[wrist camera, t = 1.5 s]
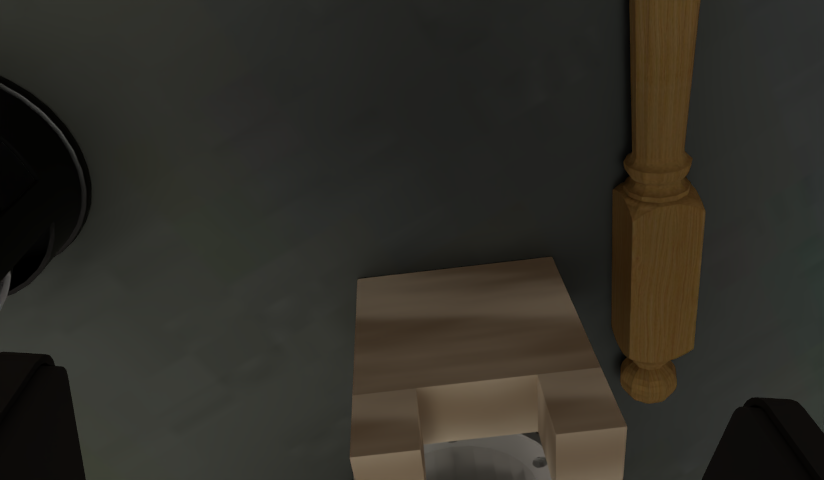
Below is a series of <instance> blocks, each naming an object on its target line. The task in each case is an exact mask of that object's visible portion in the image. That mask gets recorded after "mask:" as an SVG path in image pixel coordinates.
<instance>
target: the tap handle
mask: <svg viewBox="0 0 824 480" xmlns="http://www.w3.org/2000/svg"><path fill="white" fill-rule="evenodd" d="M699 8H700V0H629V11H630V63H631V116H632V153H629V154H627V156H626V158H625V160H624V168H625V170H626V172H627V173H628V174H629V175H630V176H629V177H627V178H626V180H625V182H623V183H621V184H619V185H618V186H616V187H615V188H614V189H613V209H612V320H611V326H612V330H613V333H614V336H615V339H616V341H617V343H618V345H619V347H620V349H621V351H622V353H623V354H624V355H625V356H626V357H627V358H626V359H625V360H624V361H623V362H622V364H621V377H620V382H621V386H622V387H623V389H624V390H625V391H626V392H627V393H628V394H629V395H630V396H631V397H632V398H633V399H635V400H637V401H641V402H644V403H647V404H650V403H657V402H662V401H664V400H665V399H666V398H667V397H668V396H669V395H670V394H672V393H673V391H674V390H675V389H676V386H677V378H676V369H675V366H674V364H673V363H672V362H671V361H670V360H673V359H676V358H678V357H680V356H682V355H684V354H686V353H688V352H689V351H691V350H692V349H694V339H695V327H696V316H697V304H698V293H699V281H700V270H701V258H702V247H703V235H704V224H705V209H704V206H703V203H702V201H701V199H700V197H699V195H698V193H697V191H696V189H695V188H694V187H693V186H692V185H691V182H690V181H689V180H688V179H687V178H686V177H685V176H686V175H687V174H688V172H689V169H690V167H691V164H692V158H691V157H690V156H689V155H688V154H687V153H686V152H685V149H684V147H685V138H686V129H687V119H688V110H689V101H690V92H691V82H692V73H693V64H694V55H695V45H696V36H697V27H698V18H699Z"/></svg>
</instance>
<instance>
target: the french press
mask: <svg viewBox="0 0 824 480" xmlns="http://www.w3.org/2000/svg"><path fill="white" fill-rule="evenodd" d="M0 141H1V142H2V143H4V144H5V145H6V146H7V147H8V148H9V149H10V150H11V151H12V152H13V153H14V154H15V155H16V156H17V157H18V158H19V159H20V160H21V162H22V163H23V164H24V166H25V167H26V168H27V170H28V171H29V173H30V174H31V175H32V177H33V178H34V180H35V182H34V183H33V184H32V185H31V186H30V187H29V188H28V189H27V190H26V191H25V192H24V193H22V194H21V195H20V196H19V197H18V198H17V199H16V200H15V201H14V202H13V203H12V204H11V205H10V206H9V207H8V208H7V209H6V210H5V211H4V212H2V213H1V214H0V309H1V308H2V306H3V304H4V302H5V300H6V298H7V296H8V295H11V294H14V293H16V292H17V291H19V290H21V289H22V288H24V287H26V286H27V285H29V284H30V283H31V282H32V281H33V280H34V279H35V278H36V277H37V276H38V275H39V274H40V273H41V272H42V271H43V270H44V268H45V267H46V266H47V265H48V263H49V262H50V261H51V260H52V258H53V257H55V256H56V255H58V254H60V253H61V252H63V251H64V250H65V249H66V248H67V247H68V246H69V245H70V244H71V243H72V242H73V241H74V240H75V239H76V237H77V236H78V234H79V232H80V231H81V229H82V227H83V225H84V224H85V222H86V218H87V215H88V211H89V207H90V192H91V185H90V180H89V175H88V170H87V166H86V163H85V161H84V158H83V156H82V154H81V151H80V149H79V147H78V145H77V143H76V142H75V140H74V139H73V137H72V136H71V134H70V133H69V131H68V130H67V128H66V127H65V126H64V125H63V123H62V122H61V121H60V120H59V119H58V118H57V117H56V116H55V115H54V114H53V113H52V111H51V110H50V109H49V108H47V107H46V106H45V105H44V104H42V103H41V102H40V101H39V100H37V99H36V98H35V97H34V96H32V95H31V94H30V93H29V92H27V91H25V90H23V89H22V88H20V87H18V86H17V85H15V84H13V83H11V82H10V81H8V80H6V79H4V78H1V77H0Z"/></svg>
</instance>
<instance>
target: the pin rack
mask: <svg viewBox="0 0 824 480" xmlns="http://www.w3.org/2000/svg"><path fill="white" fill-rule="evenodd" d="M530 432H538V433H539V437H540V440H541V444H542V447H543V451H544V454H545V458H546V461H547V465H548V468H549V472H550V475H551V479H552V480H623V472H624V460H625V447H626V434H627V425H626V423H625V421H624V418H623V416H622V414H621V412H620V409H619V407H618V405H617V403H616V400H615V398H614V396H613V394H612V391H611V389H610V387H609V385H608V382H607V380H606V378H605V375H604V373H603V371H602V369H601V366H600V364H599V362H598V360H597V357H596V355H595V353H594V351H593V348H592V346H591V344H590V342H589V339H588V337H587V335H586V332H585V330H584V328H583V326H582V323H581V321H580V319H579V317H578V314H577V312H576V310H575V308H574V305H573V303H572V301H571V299H570V296H569V294H568V292H567V289H566V287H565V285H564V283H563V280H562V278H561V276H560V274H559V271H558V269H557V267H556V265H555V262H554V260H553V258H552V257H544V258H535V259H527V260H518V261H509V262H501V263H492V264H483V265H475V266H466V267H457V268H449V269H440V270H431V271H423V272H414V273H405V274H397V275H388V276H379V277H371V278H362V279H358V280H357V303H356V326H355V349H354V372H353V395H352V419H351V442H350V461H351V465H352V470H353V475H354V479H355V480H426V470H425V458H424V445H423V444H432V443H441V442H450V441H459V440H468V439H477V438H486V437H495V436H504V435H513V434H522V433H530Z"/></svg>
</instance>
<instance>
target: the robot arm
mask: <svg viewBox="0 0 824 480" xmlns="http://www.w3.org/2000/svg"><path fill="white" fill-rule="evenodd" d="M423 445H424V458H425V470H426V480H552V479H551V475H550V472H549V468H548V465H547V461H546V458H545V454H544V451H543V447H542V444H541V440H540V437H539V434H537V433H535V432H530V433H522V434H513V435H504V436H495V437H486V438H477V439H468V440H459V441H450V442H441V443H432V444H423ZM0 480H86V479H85V473H84V467H83V461H82V455H81V450H80V444H79V438H78V432H77V426H76V421H75V415H74V409H73V403H72V397H71V392H70V386H69V380H68V375H67V371H66V369H65V368H64V367H61V366H55V365H54V361H53V359H52V358H51V356H50V355H46V354H32V353H15V352H1V353H0ZM353 480H355V479H354V477H353ZM702 480H824V433H823V432H822V431H821V429H820V428H819V427H818V426H817V424H816V423H815V422H814V420H813V419H812V418H811V417H810V415H809V414H808V413H807V412H806V410H805V409H804V408H803V407H802V406H801V405H800V404H799V403H798V402H796V401H794V400H791V399H775V398H758V397H756V398H751V399H749V400H747V401H746V403H745V404H744V406H743V407H739V408H737V409H736V410H735V411H734V413H733V415H732V417H731V419H730V421H729V423H728V425H727V427H726V429H725V432H724V434H723V436H722V438H721V440H720V442H719V444H718V446H717V448H716V451H715V453H714V455H713V457H712V459H711V461H710V463H709V465H708V467H707V469H706V472H705V474H704V476H703V478H702Z"/></svg>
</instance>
